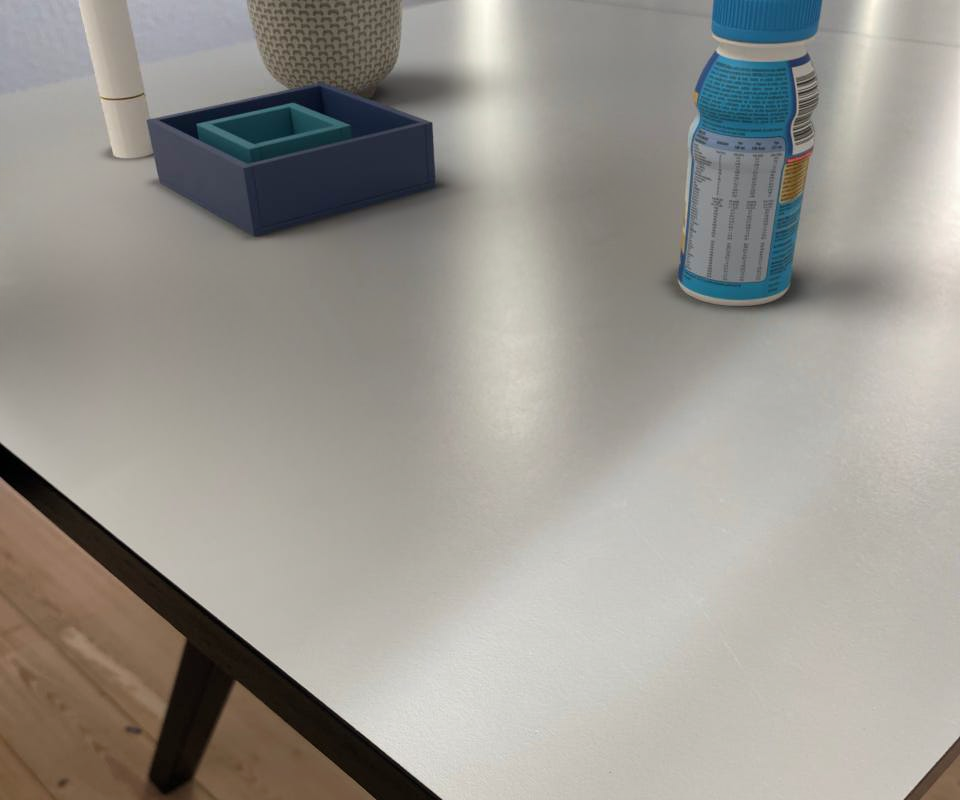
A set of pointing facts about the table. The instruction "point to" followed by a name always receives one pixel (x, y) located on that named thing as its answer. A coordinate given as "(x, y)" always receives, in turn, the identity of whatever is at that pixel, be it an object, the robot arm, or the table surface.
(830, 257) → the table surface
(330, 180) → the navy bin
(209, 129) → the teal bin
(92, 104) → the table surface
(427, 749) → the table surface
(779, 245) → the beverage bottle
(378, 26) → the planter
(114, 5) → the tube
